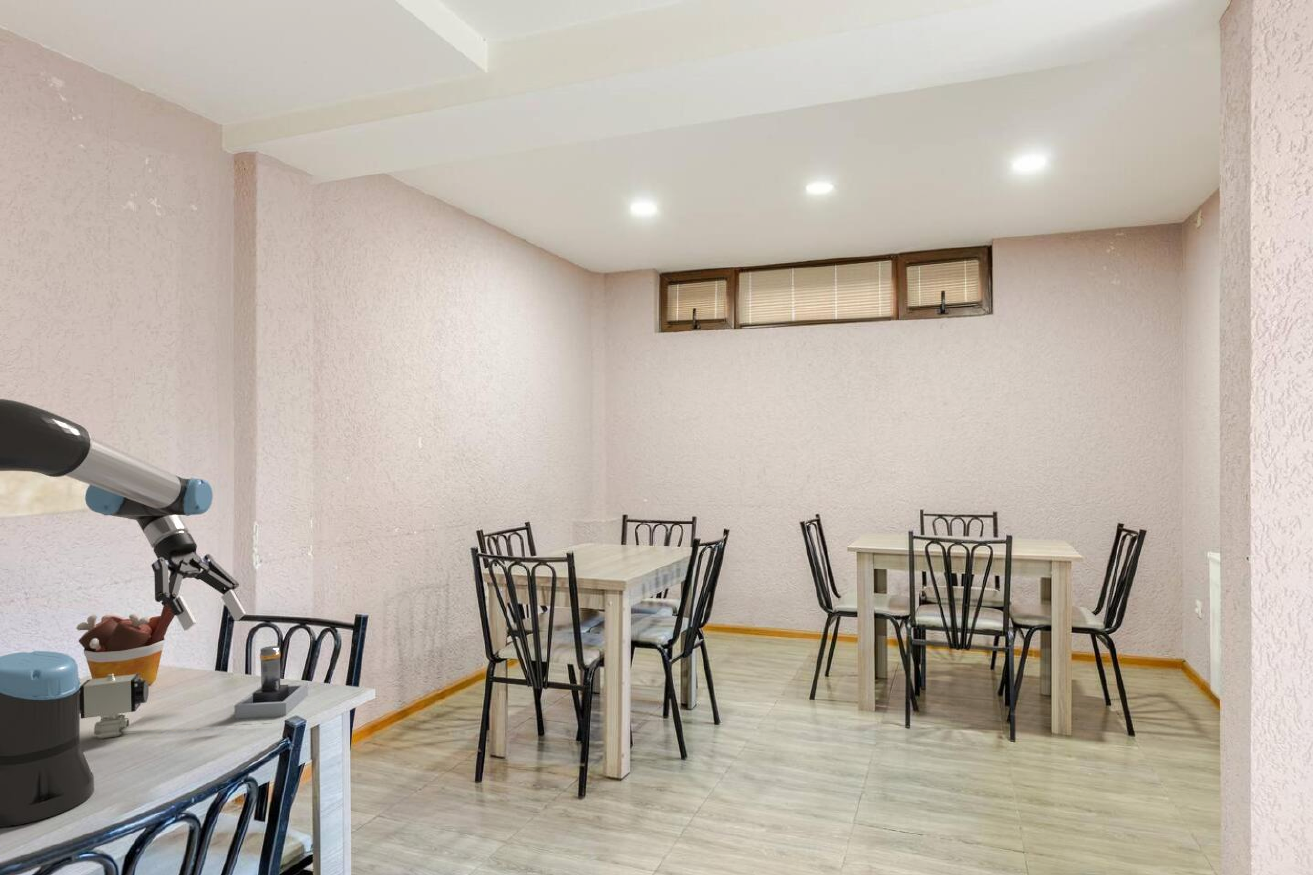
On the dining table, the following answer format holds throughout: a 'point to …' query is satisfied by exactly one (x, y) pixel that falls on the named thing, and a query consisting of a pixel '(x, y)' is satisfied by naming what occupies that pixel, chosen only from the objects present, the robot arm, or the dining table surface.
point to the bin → (271, 704)
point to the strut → (270, 677)
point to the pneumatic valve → (112, 701)
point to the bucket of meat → (125, 644)
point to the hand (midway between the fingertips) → (216, 621)
